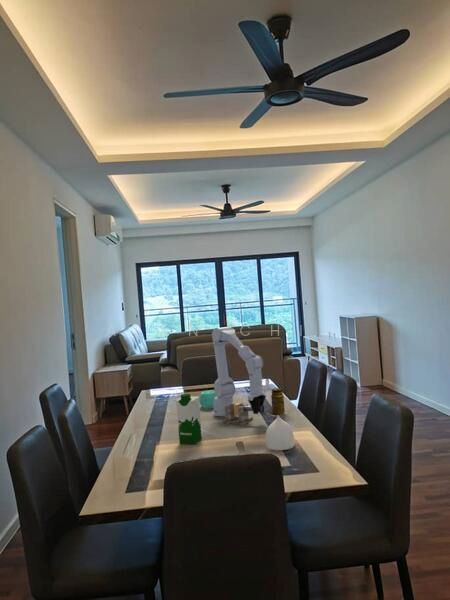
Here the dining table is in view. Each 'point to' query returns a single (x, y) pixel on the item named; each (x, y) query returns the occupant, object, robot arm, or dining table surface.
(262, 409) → the shaft
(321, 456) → the dining table surface
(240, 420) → the bearing stand
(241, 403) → the block
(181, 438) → the milk carton
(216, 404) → the robot arm
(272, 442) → the teardrop
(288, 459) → the dining table surface
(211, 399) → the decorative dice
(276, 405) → the condiment
